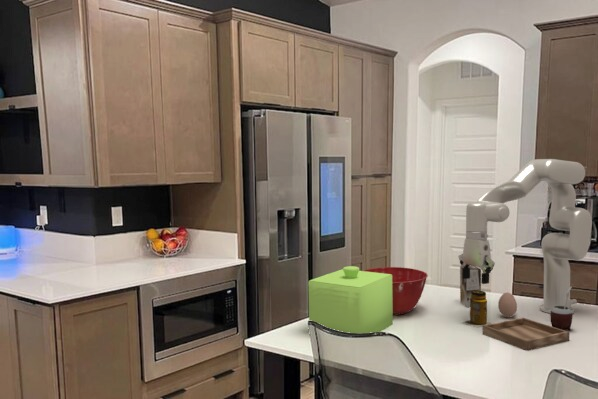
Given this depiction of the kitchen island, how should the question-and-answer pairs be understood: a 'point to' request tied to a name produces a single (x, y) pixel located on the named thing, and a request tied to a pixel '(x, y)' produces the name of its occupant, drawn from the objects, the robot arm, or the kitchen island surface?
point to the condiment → (478, 309)
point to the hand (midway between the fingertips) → (475, 281)
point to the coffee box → (469, 284)
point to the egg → (507, 305)
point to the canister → (352, 300)
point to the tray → (525, 333)
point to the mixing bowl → (404, 286)
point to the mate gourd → (561, 316)
